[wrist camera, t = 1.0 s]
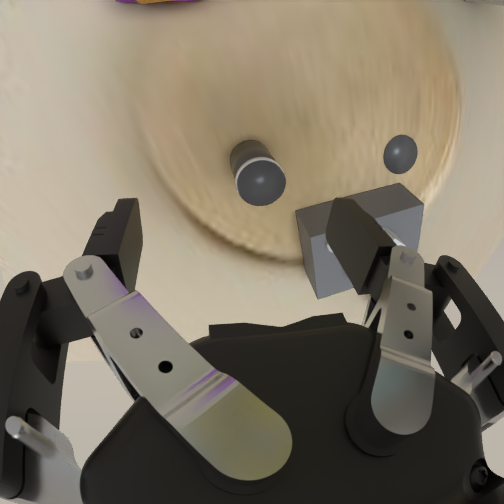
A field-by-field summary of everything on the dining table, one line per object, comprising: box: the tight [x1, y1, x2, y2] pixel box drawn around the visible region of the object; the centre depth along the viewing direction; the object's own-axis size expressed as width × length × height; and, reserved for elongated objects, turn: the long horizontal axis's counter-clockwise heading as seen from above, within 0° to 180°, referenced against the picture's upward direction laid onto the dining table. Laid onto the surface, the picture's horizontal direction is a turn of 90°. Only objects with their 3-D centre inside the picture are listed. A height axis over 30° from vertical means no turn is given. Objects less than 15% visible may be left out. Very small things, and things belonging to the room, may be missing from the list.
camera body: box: [296, 183, 424, 299], centre depth 37 cm, size 16×11×8 cm
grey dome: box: [384, 135, 417, 174], centre depth 34 cm, size 6×6×1 cm
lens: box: [230, 140, 286, 206], centre depth 29 cm, size 5×5×7 cm
